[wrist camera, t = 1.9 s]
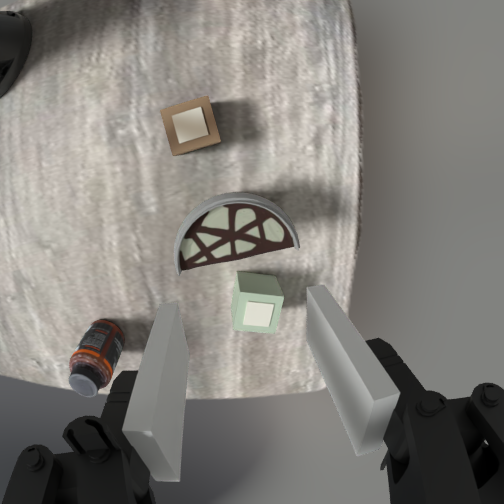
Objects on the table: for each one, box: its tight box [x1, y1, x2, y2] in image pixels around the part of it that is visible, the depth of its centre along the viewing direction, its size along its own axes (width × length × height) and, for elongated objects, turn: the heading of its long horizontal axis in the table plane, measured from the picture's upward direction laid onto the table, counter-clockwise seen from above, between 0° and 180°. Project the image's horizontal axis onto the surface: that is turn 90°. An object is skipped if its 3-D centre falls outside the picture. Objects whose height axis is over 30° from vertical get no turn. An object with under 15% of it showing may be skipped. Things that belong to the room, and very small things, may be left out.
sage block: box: [231, 271, 284, 334], centre depth 37 cm, size 5×5×6 cm
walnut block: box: [160, 96, 221, 156], centre depth 30 cm, size 5×5×5 cm
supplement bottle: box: [69, 320, 124, 397], centre depth 34 cm, size 6×6×11 cm
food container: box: [174, 192, 300, 276], centre depth 31 cm, size 12×6×10 cm, turn 100°
